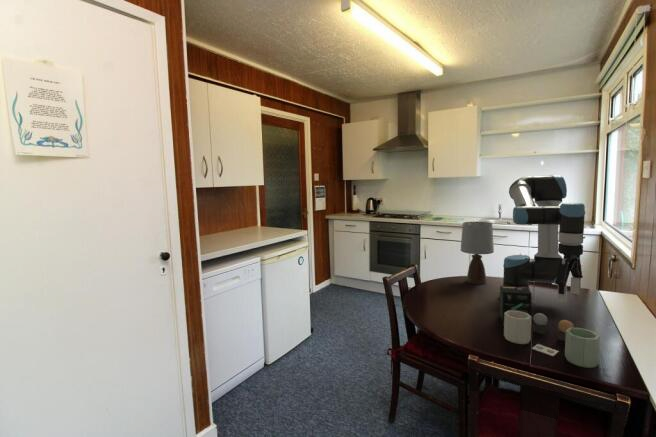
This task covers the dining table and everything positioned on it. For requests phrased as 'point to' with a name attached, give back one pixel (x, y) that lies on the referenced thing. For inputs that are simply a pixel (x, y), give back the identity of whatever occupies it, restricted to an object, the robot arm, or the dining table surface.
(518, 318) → the beaker cream
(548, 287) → the dining table surface
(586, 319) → the dining table surface
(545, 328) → the cradle grey
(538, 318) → the grey ball
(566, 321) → the terracotta ball
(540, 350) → the card
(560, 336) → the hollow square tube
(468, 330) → the dining table surface
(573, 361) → the beaker sage
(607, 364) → the dining table surface
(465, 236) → the lamp
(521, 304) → the tampon box
